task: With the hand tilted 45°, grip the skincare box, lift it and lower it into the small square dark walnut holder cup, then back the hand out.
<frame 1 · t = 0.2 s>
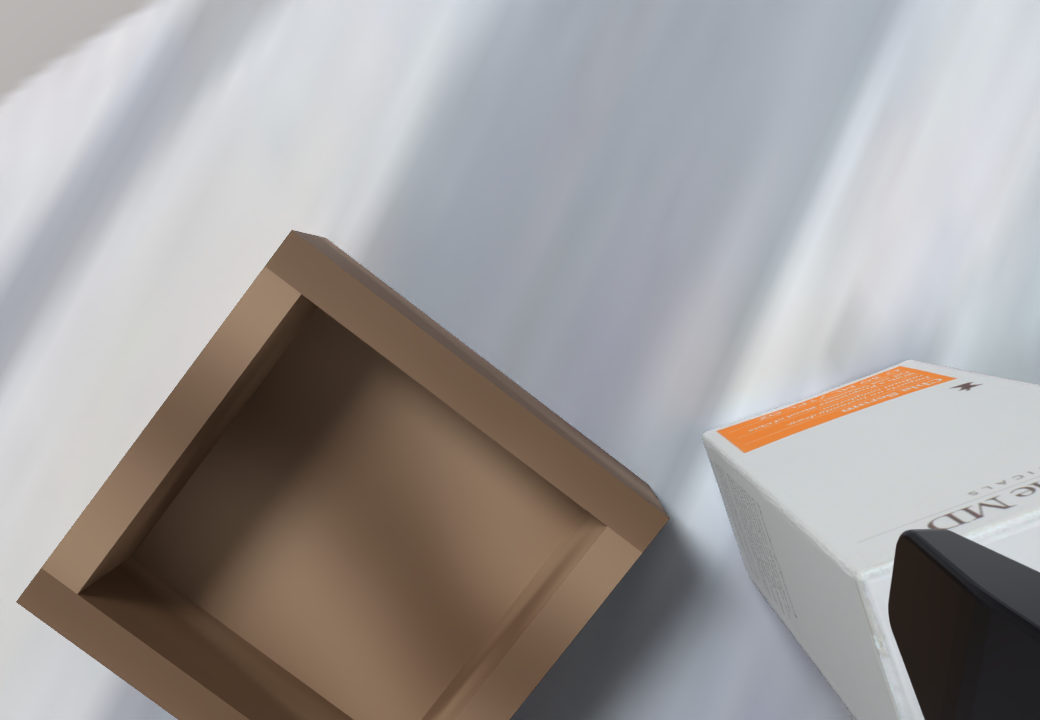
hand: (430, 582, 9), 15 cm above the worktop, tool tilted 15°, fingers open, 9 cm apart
walnut holder: (367, 520, 24), on the worktop
skincare box: (822, 465, 24), on the worktop
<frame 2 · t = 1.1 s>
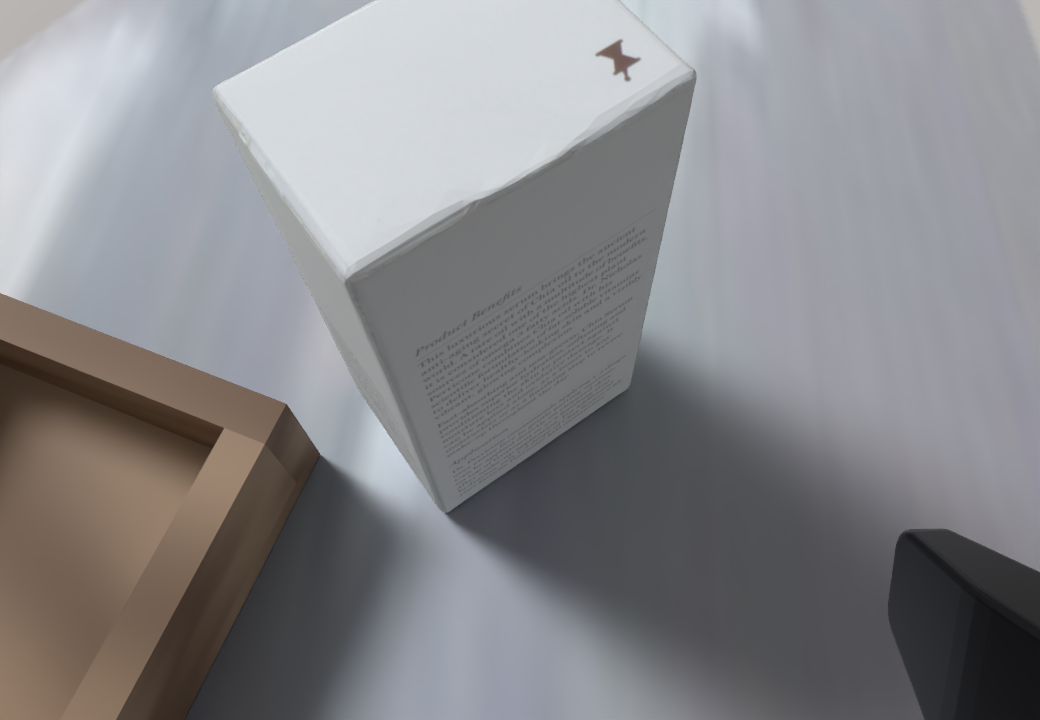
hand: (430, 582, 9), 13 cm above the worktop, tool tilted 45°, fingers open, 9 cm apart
walnut holder: (26, 571, 22), on the worktop
skincare box: (491, 394, 24), on the worktop
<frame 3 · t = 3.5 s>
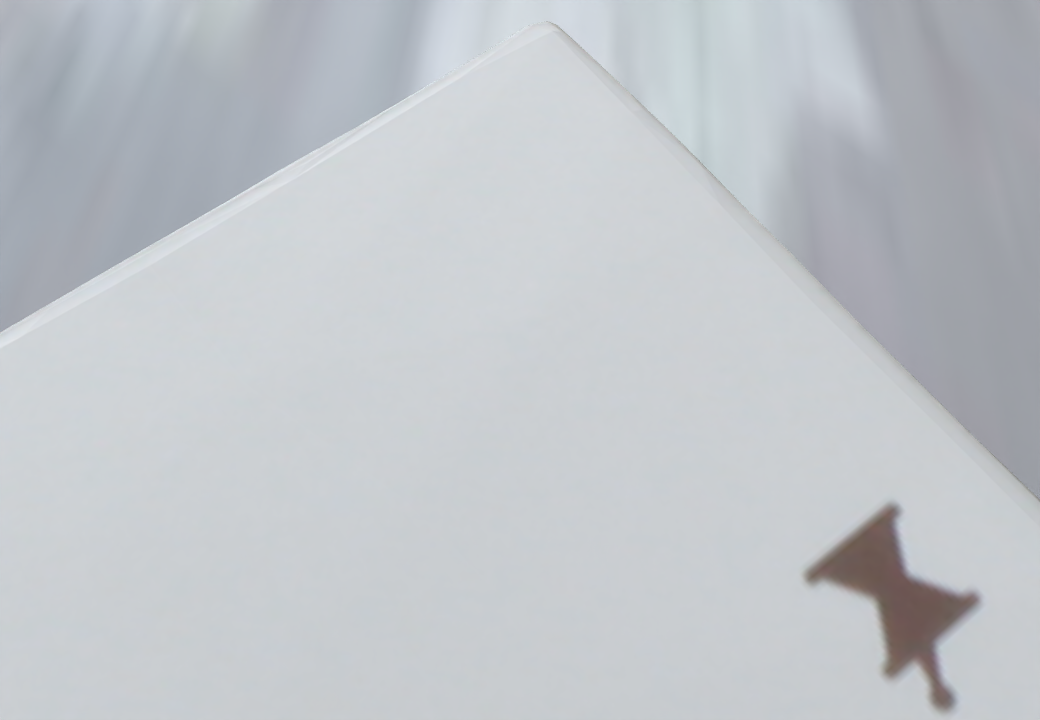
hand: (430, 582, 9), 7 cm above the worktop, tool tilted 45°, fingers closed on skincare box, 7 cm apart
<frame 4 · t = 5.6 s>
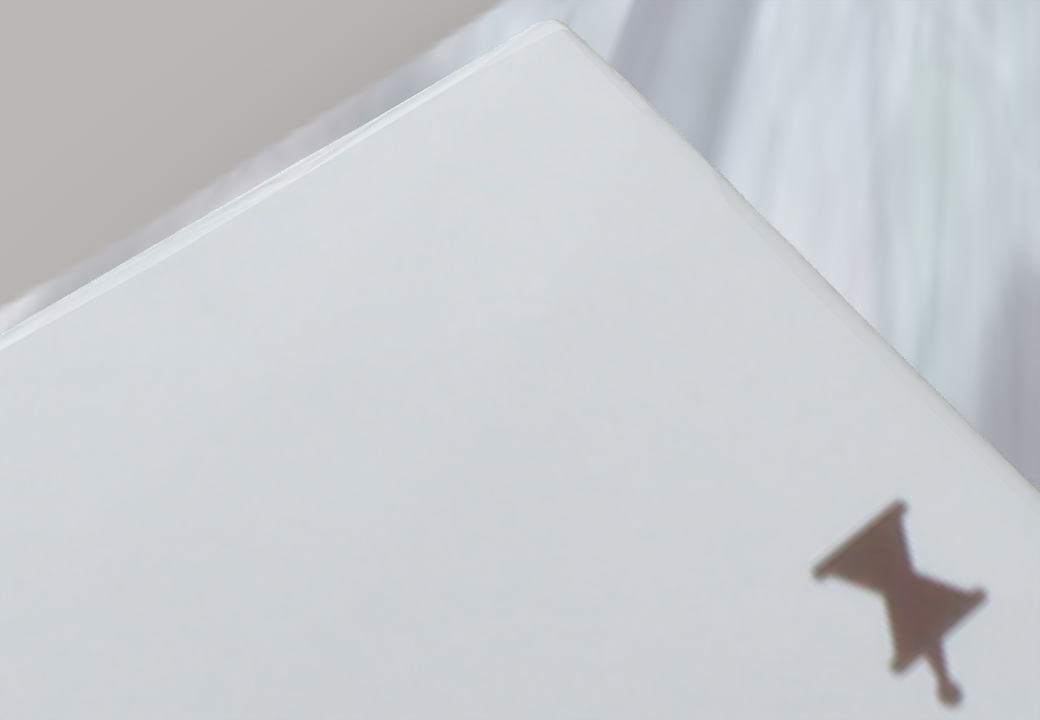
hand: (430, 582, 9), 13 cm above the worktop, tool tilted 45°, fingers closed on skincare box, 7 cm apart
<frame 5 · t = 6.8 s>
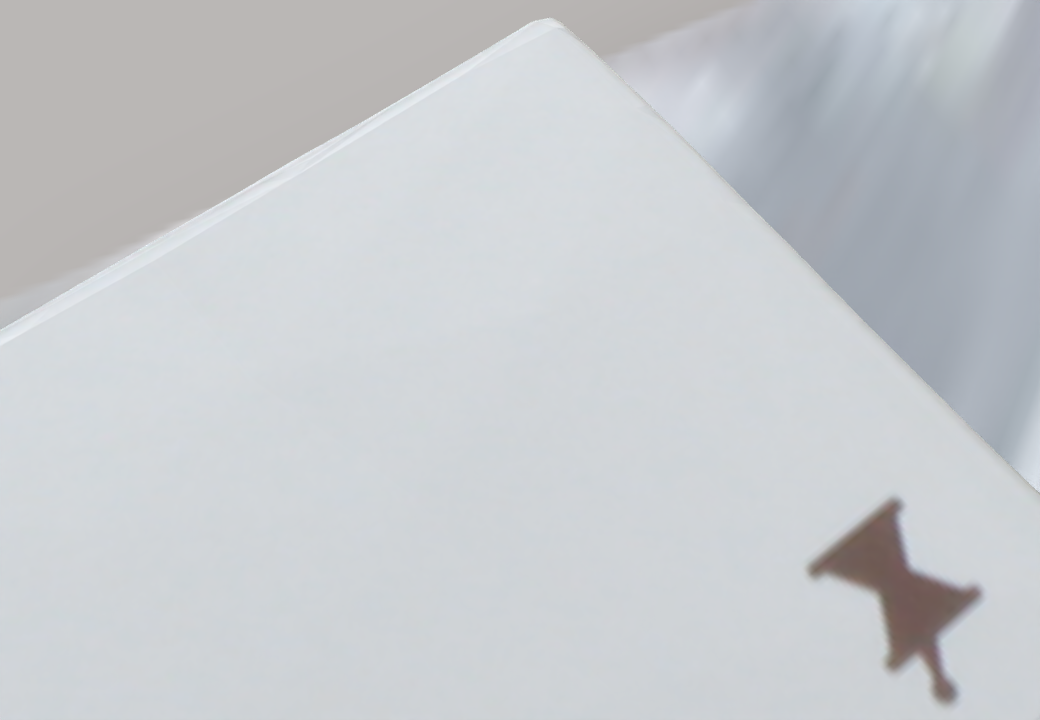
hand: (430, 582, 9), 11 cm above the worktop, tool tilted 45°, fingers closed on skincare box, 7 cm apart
when the fingers open (8 cm above the worktop, at t = 7.9 s): skincare box stays where it is, resting on walnut holder.
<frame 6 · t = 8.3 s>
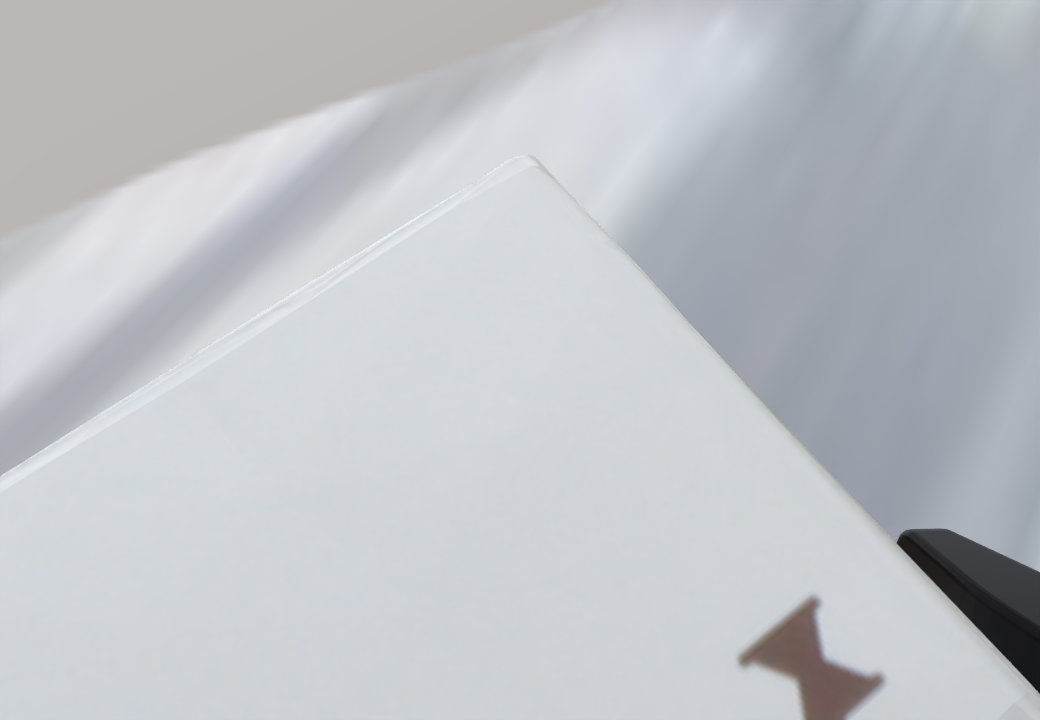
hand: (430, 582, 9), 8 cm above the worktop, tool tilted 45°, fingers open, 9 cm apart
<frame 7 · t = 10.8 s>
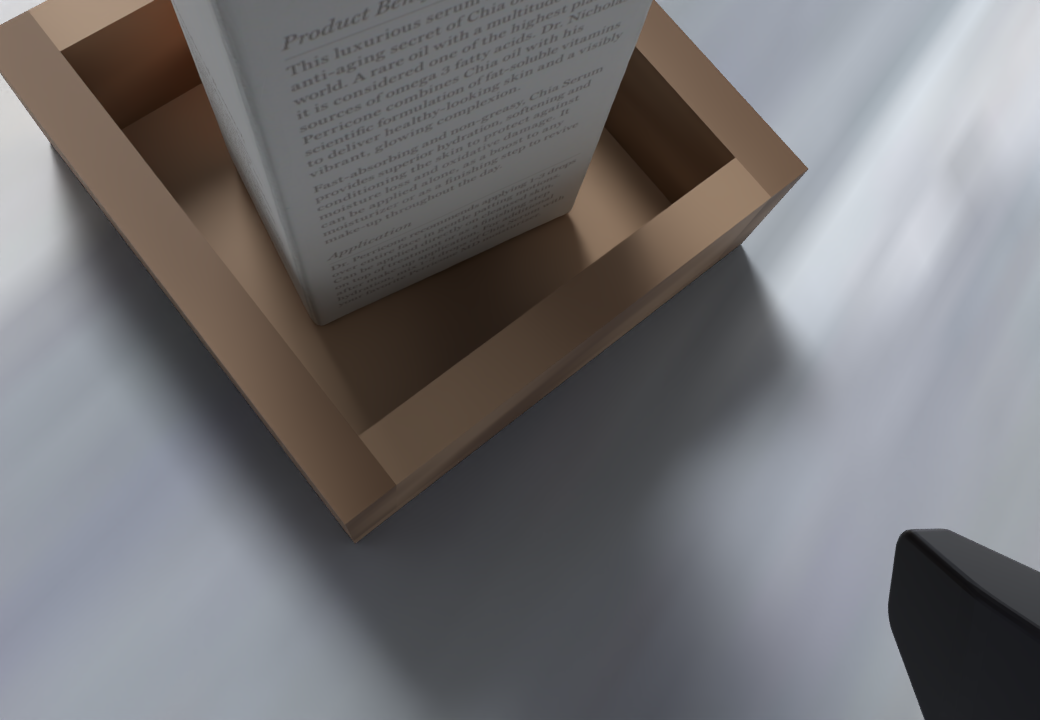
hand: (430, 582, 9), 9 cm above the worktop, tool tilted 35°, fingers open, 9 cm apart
walnut holder: (407, 193, 20), on the worktop
skincare box: (400, 193, 19), resting on walnut holder
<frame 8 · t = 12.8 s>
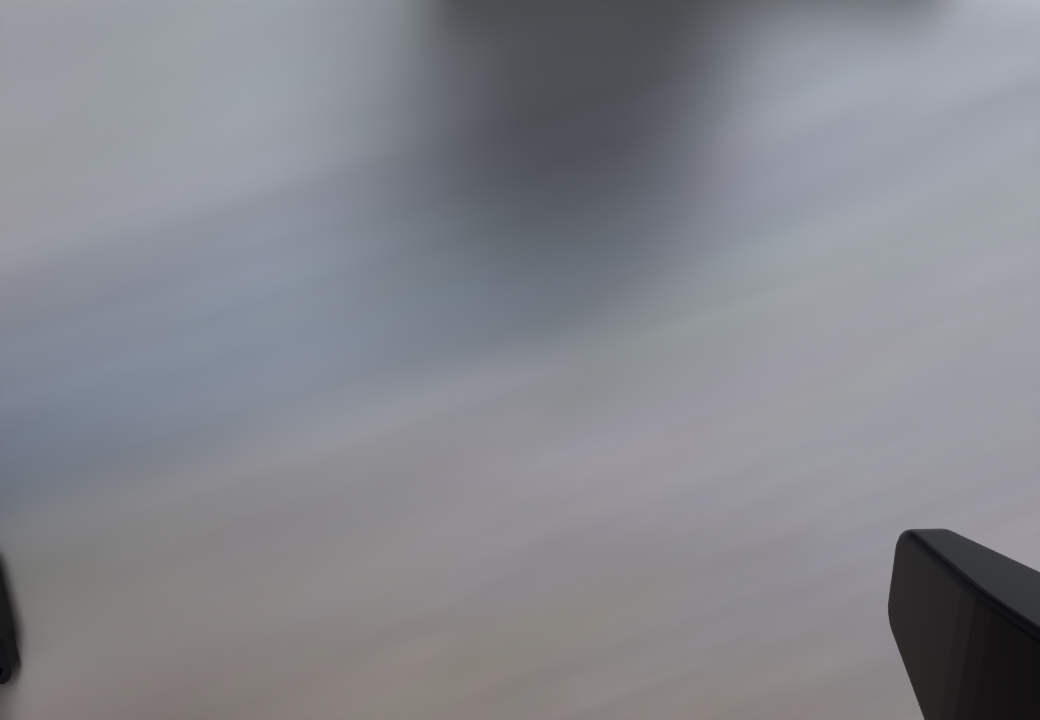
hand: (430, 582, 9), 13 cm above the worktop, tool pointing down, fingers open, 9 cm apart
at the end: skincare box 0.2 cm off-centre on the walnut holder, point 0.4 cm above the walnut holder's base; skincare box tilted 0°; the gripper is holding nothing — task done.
